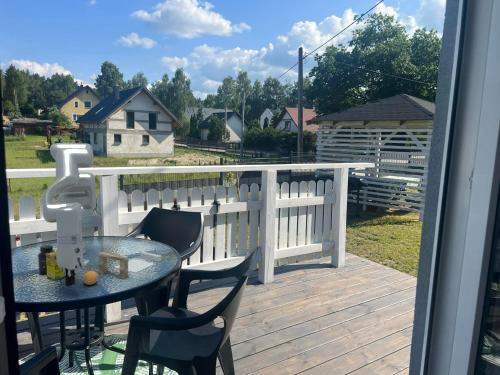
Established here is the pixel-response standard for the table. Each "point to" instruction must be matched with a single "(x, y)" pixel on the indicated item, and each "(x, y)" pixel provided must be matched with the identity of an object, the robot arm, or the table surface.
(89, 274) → the ball
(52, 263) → the supplement box
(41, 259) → the supplement bottle
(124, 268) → the bridge
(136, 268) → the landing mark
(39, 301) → the table surface
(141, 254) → the wall
